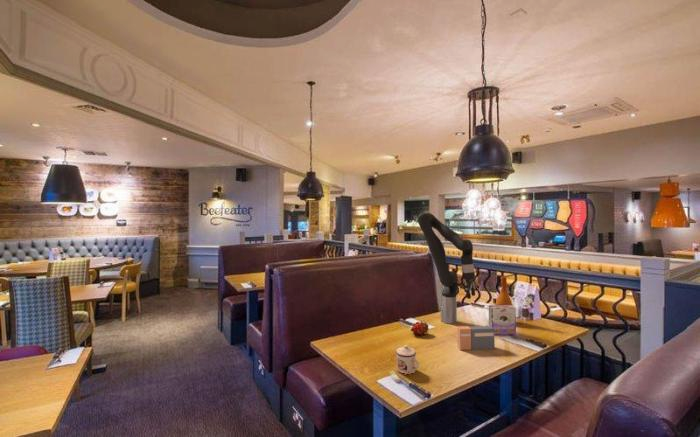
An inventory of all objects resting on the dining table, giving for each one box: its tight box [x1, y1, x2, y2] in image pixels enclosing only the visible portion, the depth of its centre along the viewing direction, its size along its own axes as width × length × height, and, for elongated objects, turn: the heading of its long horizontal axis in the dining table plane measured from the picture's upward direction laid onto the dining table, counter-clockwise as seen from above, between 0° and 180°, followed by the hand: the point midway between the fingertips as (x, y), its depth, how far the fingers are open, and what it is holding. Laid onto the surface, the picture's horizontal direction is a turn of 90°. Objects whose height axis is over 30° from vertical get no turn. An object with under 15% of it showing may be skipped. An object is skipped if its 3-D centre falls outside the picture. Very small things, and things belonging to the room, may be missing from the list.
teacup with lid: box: [395, 344, 420, 375], centre depth 150 cm, size 12×9×12 cm
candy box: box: [488, 304, 517, 336], centre depth 192 cm, size 14×6×16 cm, turn 84°
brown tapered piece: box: [495, 276, 513, 306], centre depth 211 cm, size 10×10×30 cm
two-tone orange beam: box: [456, 325, 472, 351], centre depth 173 cm, size 6×4×11 cm
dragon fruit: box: [410, 320, 429, 337], centre depth 194 cm, size 8×8×12 cm
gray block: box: [469, 325, 496, 351], centre depth 173 cm, size 12×4×11 cm, turn 91°
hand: (471, 297), depth 204 cm, fingers open, 8 cm apart
